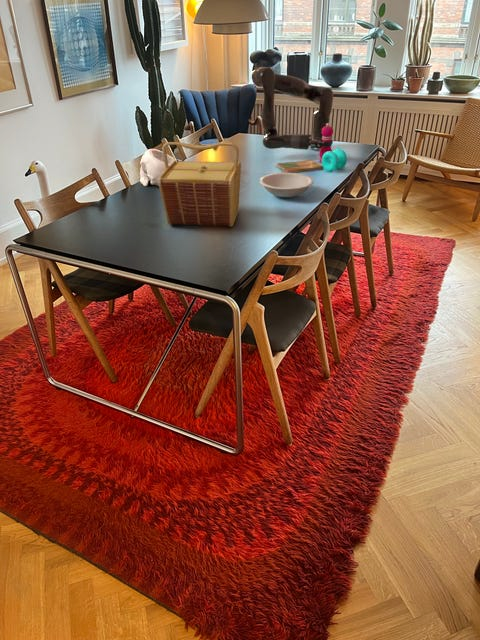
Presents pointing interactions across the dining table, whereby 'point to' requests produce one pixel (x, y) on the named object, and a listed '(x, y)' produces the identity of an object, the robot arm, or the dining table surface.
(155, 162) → the skull planter
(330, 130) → the pepper mill
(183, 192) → the picnic basket
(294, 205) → the dining table surface
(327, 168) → the turquoise spool
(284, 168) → the oak board
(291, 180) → the soup bowl
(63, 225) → the dining table surface
